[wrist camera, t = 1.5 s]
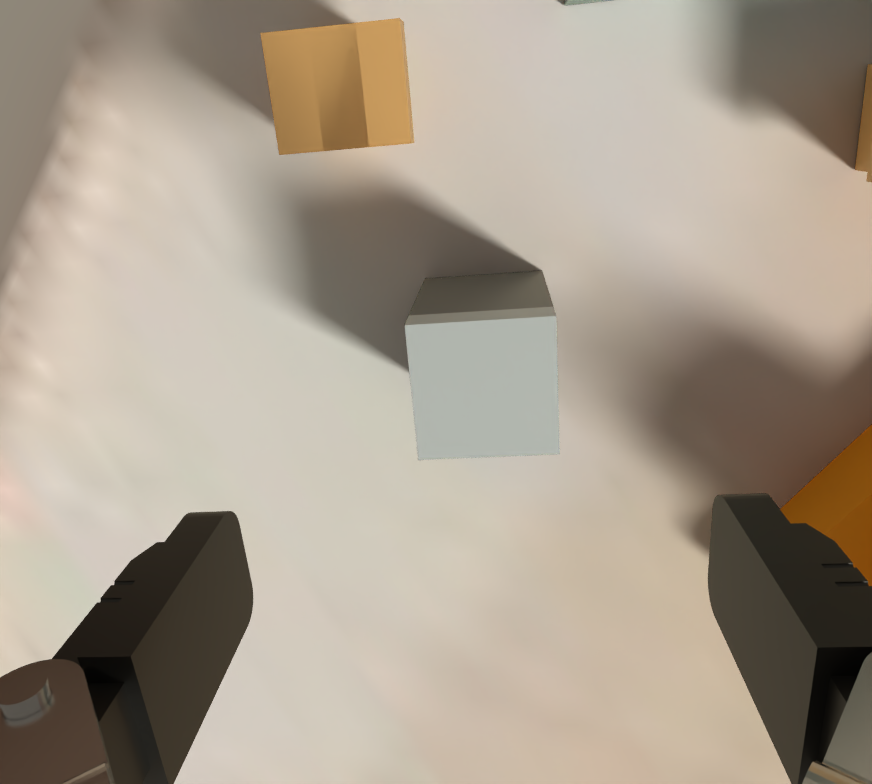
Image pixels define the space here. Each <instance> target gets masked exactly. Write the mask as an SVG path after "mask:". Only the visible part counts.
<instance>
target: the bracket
mask: <svg viewBox="0 0 872 784" xmlns="http://www.w3.org/2000/svg"><path fill="white" fill-rule="evenodd" d="M780 510H781V511H782V513H783V514H784V515H785V517H786V518H787V519H788V521H789V522H790V523H791V524H792V523H806V524H808V525H810V526H811V527H813V528H814V529H816V530H818V531H819V532H821V533H822V534H824V535H826V536H827V537H829V538H830V539H832V540H834V541H835V542H836V543H837V544H838V546H839V547H840V548H841V549H842V550H843V552H844V553H845V554H846V555H847V556H848V558H849V559H850V560H851V561H852V563H853V567H857V569H858V570H859V571H860V572H861V573H862V575H863V576H864V577H865V578H866V579H867V581H868V585H869V586H872V424H871V425H870V426H869V427H868V428H867V429H866V430H865V431H864V432H863V433H862V434H861V435H860V436H859V437H857V438H856V439H855V440H854V441H853V442H852V443H851V444H850V445H849V446H848V447H847V448H846V449H845V450H843V451H842V452H841V453H840V454H839V455H838V456H837V457H836V458H835V459H834V460H833V461H832V462H830V463H829V464H828V465H827V466H826V467H825V468H824V469H823V470H822V471H821V472H820V473H819V474H818V475H816V476H815V477H814V478H813V479H812V480H811V481H810V482H809V483H808V484H807V485H806V486H805V487H804V488H802V489H801V490H800V491H799V492H798V493H797V494H796V495H795V496H794V497H793V498H792V499H791V500H790V501H788V502H787V503H786V504H785V505H784V506H783V507H782V508H781V509H780Z"/></svg>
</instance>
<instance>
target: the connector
mask: <svg viewBox="0 0 872 784" xmlns="http://www.w3.org/2000/svg"><path fill="white" fill-rule="evenodd" d="M405 335H406V345H407V355H408V364H409V374H410V384H411V393H412V403H413V413H414V422H415V432H416V442H417V451H418V460H431V459H456V458H481V457H505V456H530V455H554V454H560V448H559V407H558V365H557V323H556V313H555V310H554V307H553V304H552V301H551V297H550V294H549V291H548V288H547V285H546V282H545V278H544V275H543V272H542V271H528V272H513V273H498V274H483V275H468V276H454V277H439V278H425V280H424V282H423V285H422V287H421V289H420V291H419V294H418V296H417V298H416V300H415V303H414V305H413V307H412V309H411V312H410V314H409V316H408V318H407V321H406V323H405Z"/></svg>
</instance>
